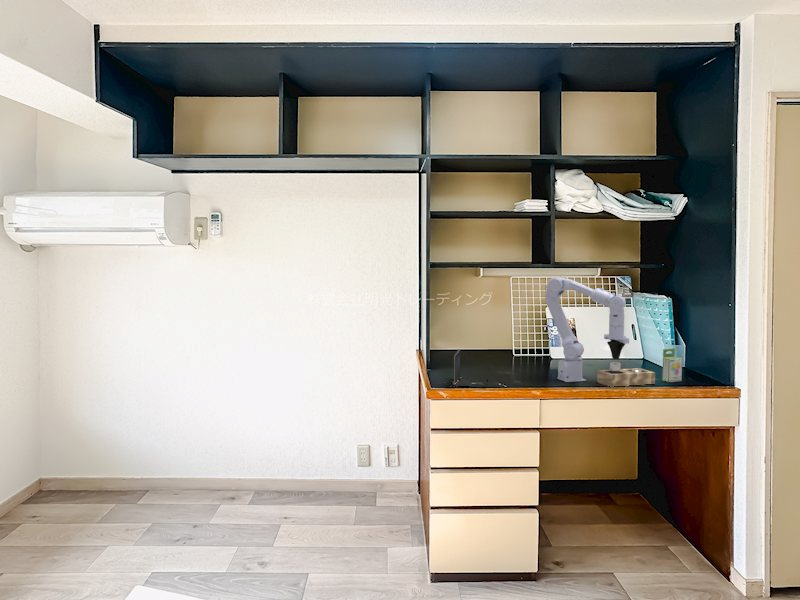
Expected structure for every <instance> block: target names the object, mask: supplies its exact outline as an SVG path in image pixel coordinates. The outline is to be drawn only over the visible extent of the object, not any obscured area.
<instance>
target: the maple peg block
mask: <svg viewBox="0 0 800 600" xmlns="http://www.w3.org/2000/svg"><path fill="white" fill-rule="evenodd" d="M632 369H639V370H642V372H633V371H632ZM596 371H597V372H596V373H597V375H596V376H597V377H596V379H597V382H598V384H600V385H604V386H606V385H607V386H606V387H609V386H610V387H609V388H615V387H614V386H625V387H630V386H629V385H641V386H646V385H645V384H655V385H656V372H655V371H651V370H647V369H646V368H645V369H644V368H641V367H636V368H634V367H633V368H620V373H611V372H610V369H602V370H601V369H599V370H596Z"/></svg>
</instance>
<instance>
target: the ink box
mask: <svg viewBox="0 0 800 600" xmlns="http://www.w3.org/2000/svg"><path fill="white" fill-rule="evenodd" d="M662 351H663V352H662V374H661V376H662V377H661V381H662V382H665V381H666V382H665V383H669V382H670V383H675V382H682V377H683V375H682V372H683V367H682V366H683V365H682V364H683V358H682V357H680V356H675V355H676V354H675V353H676V352H675V351H676V348H664V349H662ZM668 352H671V353H668Z"/></svg>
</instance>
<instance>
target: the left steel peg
mask: <svg viewBox="0 0 800 600" xmlns="http://www.w3.org/2000/svg"><path fill="white" fill-rule="evenodd" d="M620 369H621V362H616V361H612V362H609V370H610V372H611V373H620Z"/></svg>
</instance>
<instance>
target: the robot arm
mask: <svg viewBox="0 0 800 600" xmlns="http://www.w3.org/2000/svg"><path fill="white" fill-rule="evenodd" d="M545 290H546V291H545V304H546V306H547V308H548V311H549V313H550V316H551V318H552V319H553V320H552V321H553V322H554V324H555V326H556V329H557V331H558V333H559V335H560V337H561V345H562V348H563V355H564V359H560V360H559V361H558V365H557V366H558V368H557V378H556V379H558V380H559V381H563V382H565V383H572V382H573V383H574V382H575V383H577V382H587V379H586V378H583V357H582V355H583V354H584V351H585V348H584V345H583V344H582V343H580V341H579V340H578V338H577V337H576V336H575V334H574V333H573V330H572V328H571V326H570V325H571V324H570V323H569V321H568V319H567V316H566V314H565V311H564V310H563V308H562V305H561V304H560V299H561V297H562V295H563V294H564V293H565V291H574V292H577V293H580V294H582V295H586V296H588V297H590V298H591V300H592V302H595V303H597V304H599V305H602V306H604V307H608V308H609V315H608V316H609V317H608V319H609V320H608V334H607V333H604V334H603V339H604V340H610V341H607V343H606V344H607V346H608V347H609V349H610V353H611V357H612V360H619V359H620V356H621V353H622V352H623V351H622V350H623V349H624V347H625V345H626V344H630V338H628V337H627V336H626V335H625V307H626V303H627V302H626V299H625V298H624V296H621V295H620V294H619V295H616V293H615V292H612V293H611V292H609V291H607V290H605V288H604V287H601V288H599V287H597V288H595V289H594V288H591V287H589V286H587V285H584V284H582V283H580V282H578V281H576V280H574V279H571V278H566V277H563V276H558V277H552V278H550V279H549V280H548V282H547V284H546V285H545Z"/></svg>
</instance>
